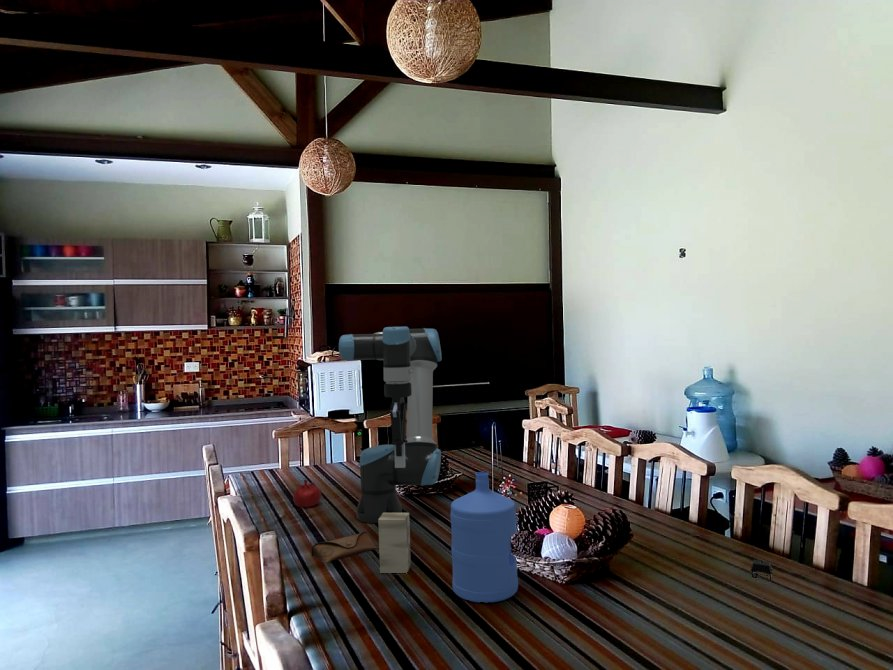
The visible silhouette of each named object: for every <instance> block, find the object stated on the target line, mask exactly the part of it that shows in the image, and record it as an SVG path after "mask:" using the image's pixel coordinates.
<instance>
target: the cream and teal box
mask: <svg viewBox="0 0 893 670" xmlns="http://www.w3.org/2000/svg"><path fill="white" fill-rule="evenodd" d="M377 525H378V544H379V545H378V548H379V549H378V550H379V574H380V573H406V574H405V575H407V574H408V573H407V572H409V570H410V567H411V566H410V565H411V564H412V561H411V534H410V533H411V532H410V528H411V527H410V512H402V513H383V514H382V515H381V517H380V518H379V519H378V523H377Z"/></svg>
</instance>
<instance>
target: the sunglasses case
mask: <svg viewBox="0 0 893 670" xmlns="http://www.w3.org/2000/svg"><path fill="white" fill-rule="evenodd" d="M375 549H377V550H379V546H377V545H376V543H374V542H373V540H372V539H371V537H370V536H369V535H368V532H367V531H362V532H360V533H357V534H352V535H348V536H344V537H343V536H342V537H339V538H336V539H332V540H328V541H321V542H317V543H315V544H313V546H312V547H311V552H310V553H311V557H312V556H314V557H316V558H318V559H320V560H322V561H325V562H329V563H331V562H330V561H332V562H334V561H333V560H335V561H337V559H339V560H341V559H340V558H342V559H345V558H349V557H352V556H351V555H353V556H356V555H359V554H364V553H368V552H371V550H372V551H375ZM367 551H368V552H367ZM363 552H364V553H363ZM355 554H356V555H355ZM348 556H349V557H348ZM314 557H313V558H314ZM344 557H345V558H344ZM316 558H315V559H316ZM318 559H317V560H318ZM320 560H319V561H320ZM322 561H321V562H322Z"/></svg>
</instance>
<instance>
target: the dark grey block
mask: <svg viewBox="0 0 893 670" xmlns="http://www.w3.org/2000/svg"><path fill="white" fill-rule="evenodd" d="M761 561H762V560H759V559H758V560H757V559H753V562H752V565H751V566H750V567H751V568H750V571H751V574H752V577H753V578H757V577H760V575H761V573H763V575H764V576H765V575H766V576H768V575H769V576H770V580H771V577H773V576H772V575H773V567H772V565H771V562H770V561H766V560H763V561H762V562H761ZM759 574H760V575H759ZM766 579H768V578H766Z"/></svg>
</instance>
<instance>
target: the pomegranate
mask: <svg viewBox="0 0 893 670" xmlns="http://www.w3.org/2000/svg"><path fill="white" fill-rule="evenodd" d="M303 483H304V484H297V485H296V487H297V488H296V490H295V492H294V494H293V497H292V499H293V503H294V505H295V506H296V507H298V508H300V507H308V508H312V507H314V506H316V505H318V504H319V502H321V499H322V491H321V489H320V487H318V486H317V485H318V483H314V482H312V481H311V482H310V483H309V484H308V479H304V480H303ZM311 506H312V507H311Z"/></svg>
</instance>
